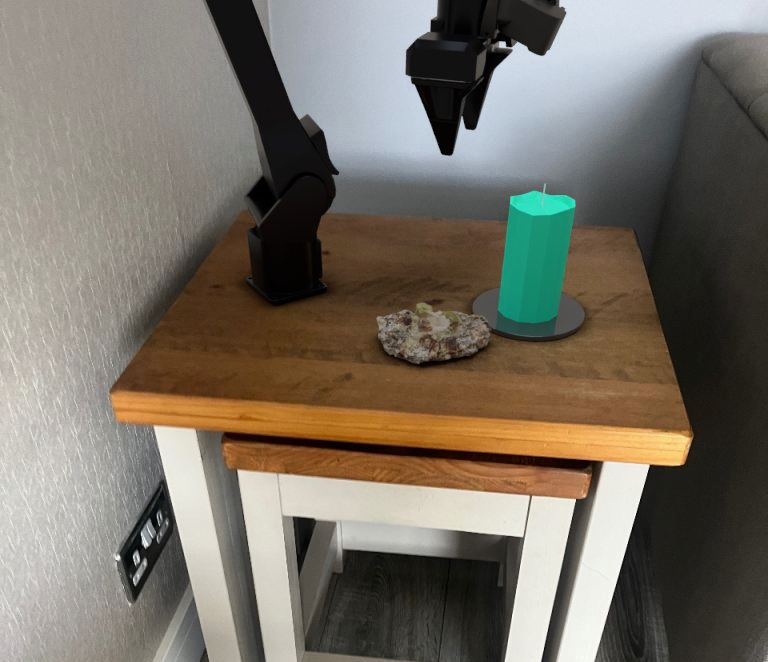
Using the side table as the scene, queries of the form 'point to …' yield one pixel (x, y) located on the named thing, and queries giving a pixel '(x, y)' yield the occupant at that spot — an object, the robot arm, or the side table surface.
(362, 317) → the side table surface
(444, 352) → the mineral rock
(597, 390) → the side table surface
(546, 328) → the slate coaster
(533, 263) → the candle
